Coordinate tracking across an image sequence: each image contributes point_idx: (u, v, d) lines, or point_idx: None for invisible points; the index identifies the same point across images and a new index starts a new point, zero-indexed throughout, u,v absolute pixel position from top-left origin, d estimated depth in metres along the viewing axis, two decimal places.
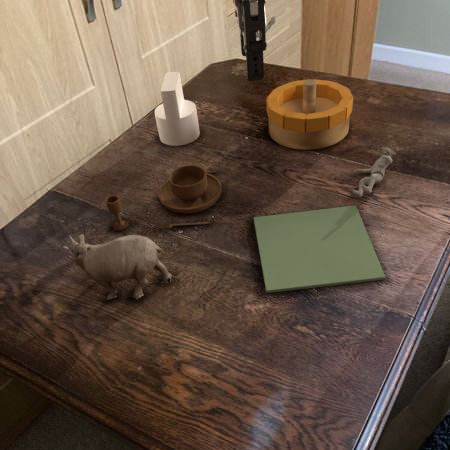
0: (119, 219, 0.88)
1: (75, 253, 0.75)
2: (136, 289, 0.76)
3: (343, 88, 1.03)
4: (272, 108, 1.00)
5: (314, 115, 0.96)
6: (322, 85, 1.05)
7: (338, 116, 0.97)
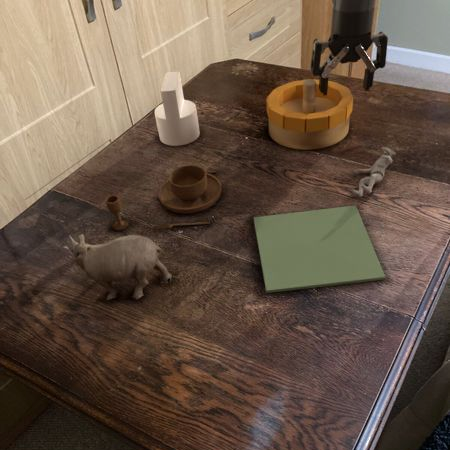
0: (119, 219, 0.88)
1: (75, 253, 0.75)
2: (136, 289, 0.76)
3: (343, 88, 1.03)
4: (272, 108, 1.00)
5: (314, 115, 0.96)
6: None
7: (338, 116, 0.97)
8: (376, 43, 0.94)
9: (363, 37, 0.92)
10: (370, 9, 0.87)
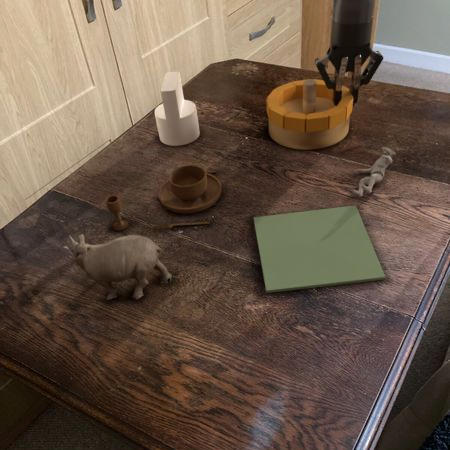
0: (119, 219, 0.88)
1: (75, 253, 0.75)
2: (136, 289, 0.76)
3: (343, 88, 1.03)
4: (272, 108, 1.00)
5: (314, 115, 0.96)
6: (322, 85, 1.05)
7: (338, 116, 0.97)
8: (371, 58, 0.96)
9: (362, 47, 0.94)
10: (368, 21, 0.88)
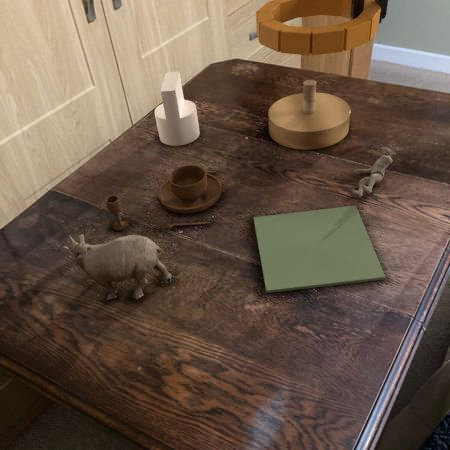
0: (119, 219, 0.88)
1: (75, 253, 0.75)
2: (136, 289, 0.76)
3: None
4: (263, 23, 0.69)
5: (324, 28, 0.66)
6: None
7: (359, 31, 0.66)
8: None
9: None
10: None
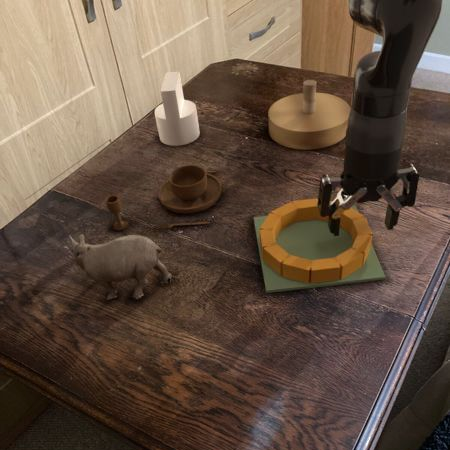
0: (119, 219, 0.88)
1: (75, 253, 0.75)
2: (136, 289, 0.76)
3: (358, 217, 0.79)
4: (266, 248, 0.77)
5: (321, 263, 0.73)
6: None
7: (353, 264, 0.74)
8: (403, 179, 0.72)
9: None
10: (397, 148, 0.65)
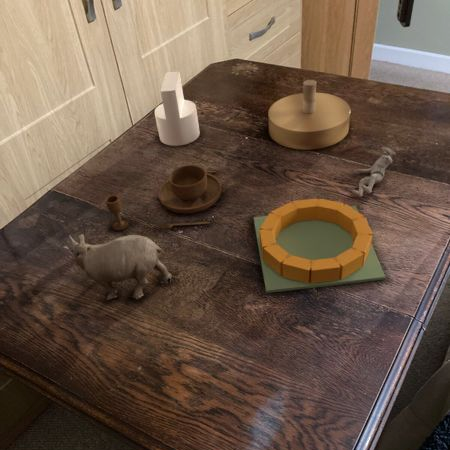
0: (119, 219, 0.88)
1: (75, 253, 0.75)
2: (136, 289, 0.76)
3: (358, 217, 0.79)
4: (266, 248, 0.77)
5: (321, 263, 0.73)
6: (331, 209, 0.82)
7: (353, 264, 0.74)
8: None
9: None
10: None
